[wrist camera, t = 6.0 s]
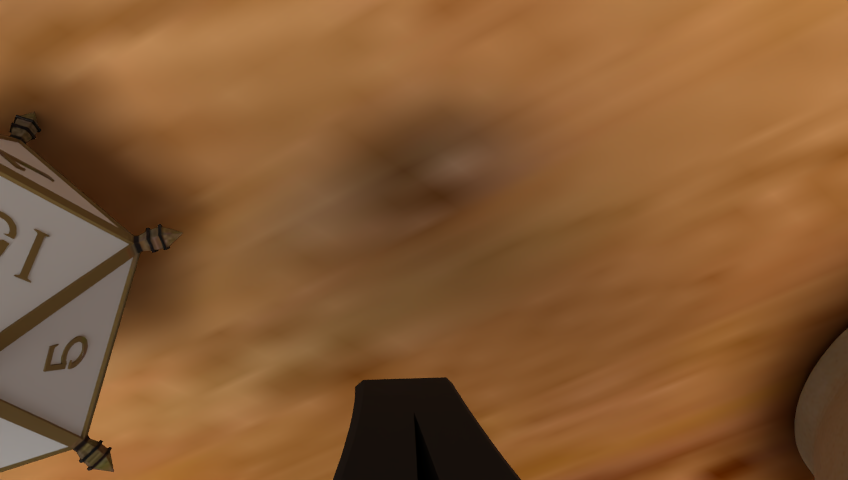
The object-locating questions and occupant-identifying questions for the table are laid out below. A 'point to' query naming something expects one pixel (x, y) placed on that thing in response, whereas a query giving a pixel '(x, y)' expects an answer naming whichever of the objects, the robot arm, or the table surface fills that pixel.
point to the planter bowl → (825, 415)
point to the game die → (57, 304)
